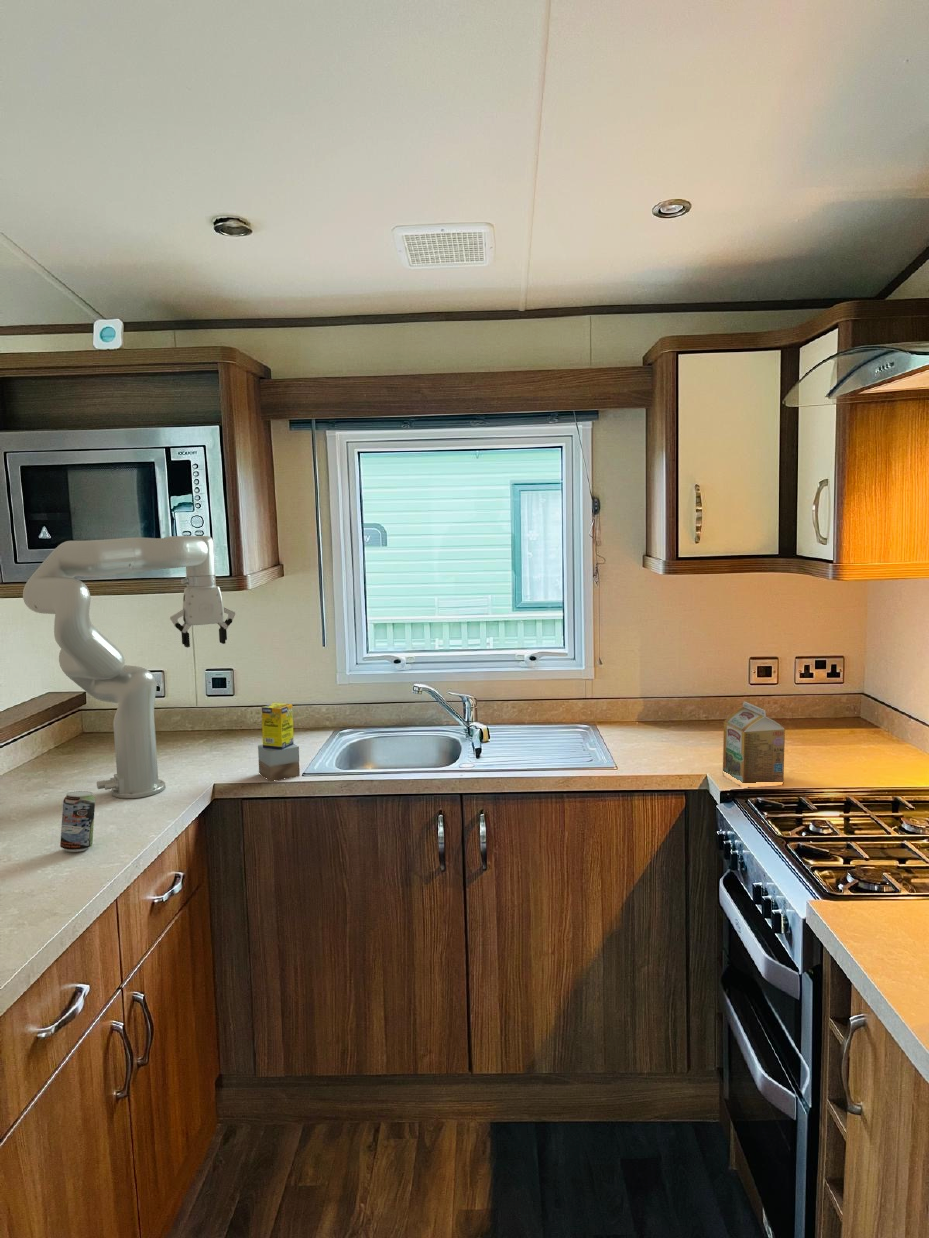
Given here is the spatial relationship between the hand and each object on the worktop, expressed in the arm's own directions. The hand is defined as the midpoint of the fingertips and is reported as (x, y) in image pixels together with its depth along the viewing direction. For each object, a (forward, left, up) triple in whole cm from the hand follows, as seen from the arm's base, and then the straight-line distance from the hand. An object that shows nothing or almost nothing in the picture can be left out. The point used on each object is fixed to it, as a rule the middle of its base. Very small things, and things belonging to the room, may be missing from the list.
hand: (204, 645), depth 230 cm
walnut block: (+11, -21, -34) cm, 41 cm away
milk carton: (+105, -98, -34) cm, 147 cm away
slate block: (+11, -21, -30) cm, 38 cm away
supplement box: (+11, -21, -26) cm, 35 cm away
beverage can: (-41, -44, -34) cm, 69 cm away
